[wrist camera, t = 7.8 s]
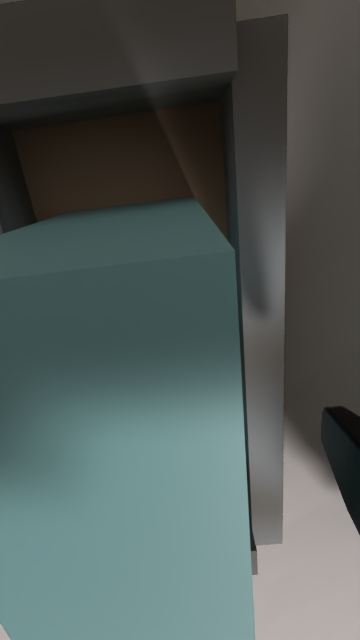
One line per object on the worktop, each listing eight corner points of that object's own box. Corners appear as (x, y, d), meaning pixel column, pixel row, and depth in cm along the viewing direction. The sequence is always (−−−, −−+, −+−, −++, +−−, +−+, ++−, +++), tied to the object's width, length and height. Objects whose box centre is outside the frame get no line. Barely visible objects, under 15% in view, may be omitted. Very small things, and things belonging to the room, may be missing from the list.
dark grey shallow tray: (271, 484, 17) (298, 571, 13) (93, 499, 17) (70, 588, 13) (267, 39, 9) (325, -47, 6) (-42, 84, 10) (-173, 31, 6)
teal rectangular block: (217, 441, 14) (260, 726, 7) (126, 450, 14) (72, 737, 7) (193, 195, 10) (235, 250, 3) (67, 212, 10) (-203, 303, 3)
